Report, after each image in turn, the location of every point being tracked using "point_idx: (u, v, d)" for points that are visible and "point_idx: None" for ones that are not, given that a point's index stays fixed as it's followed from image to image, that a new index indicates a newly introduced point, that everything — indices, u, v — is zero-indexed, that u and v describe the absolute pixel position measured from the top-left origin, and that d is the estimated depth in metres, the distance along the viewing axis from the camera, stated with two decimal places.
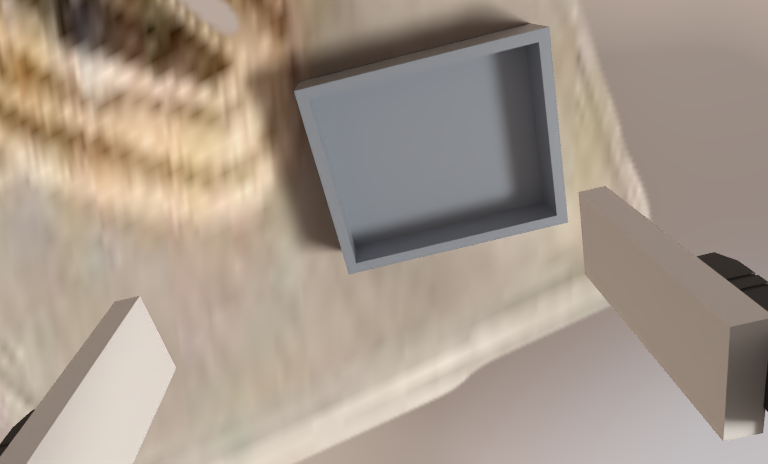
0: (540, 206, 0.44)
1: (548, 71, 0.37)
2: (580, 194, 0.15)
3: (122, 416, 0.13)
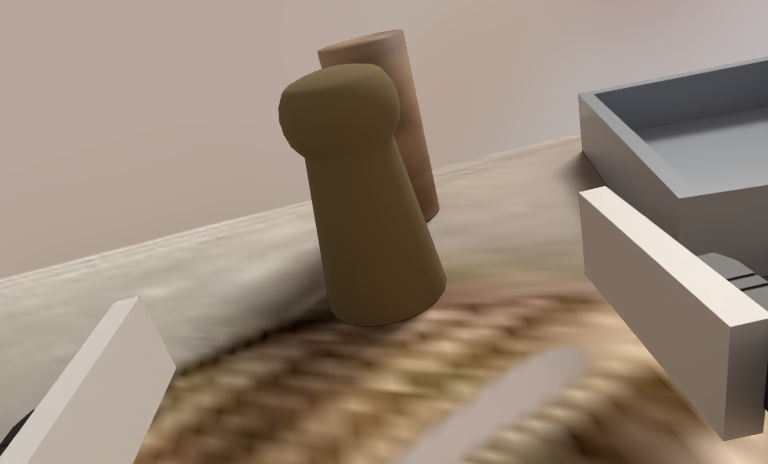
0: None
1: (625, 86, 0.35)
2: (580, 194, 0.15)
3: (122, 416, 0.13)
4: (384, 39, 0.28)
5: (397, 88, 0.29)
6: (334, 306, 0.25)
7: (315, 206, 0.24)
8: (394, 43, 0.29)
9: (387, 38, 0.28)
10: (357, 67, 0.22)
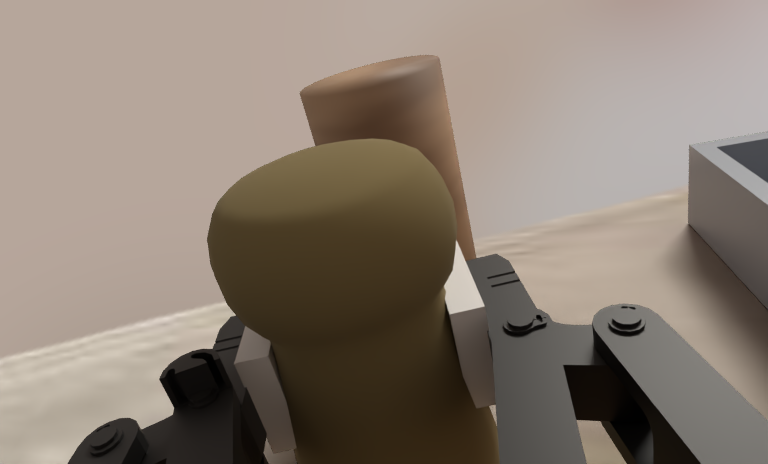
0: None
1: (763, 135, 0.23)
2: None
3: None
4: (411, 76, 0.17)
5: (431, 154, 0.18)
6: None
7: None
8: (427, 82, 0.17)
9: (416, 74, 0.17)
10: (372, 158, 0.10)
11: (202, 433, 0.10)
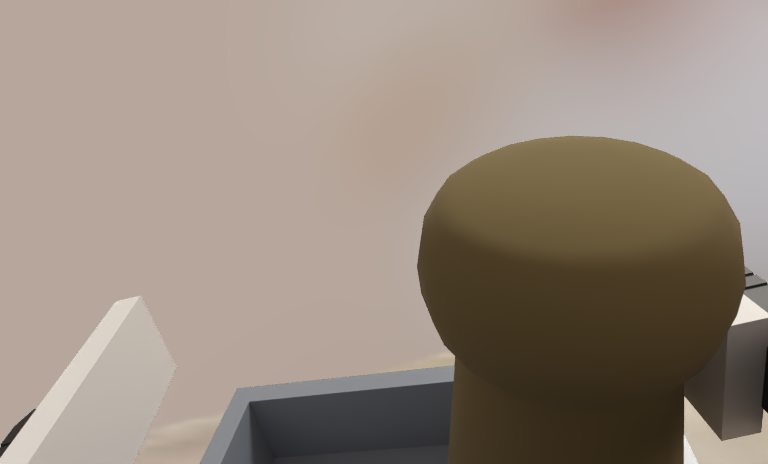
0: None
1: (304, 387, 0.20)
2: None
3: (123, 415, 0.13)
4: None
5: None
6: None
7: (476, 457, 0.10)
8: None
9: None
10: (664, 176, 0.08)
11: None
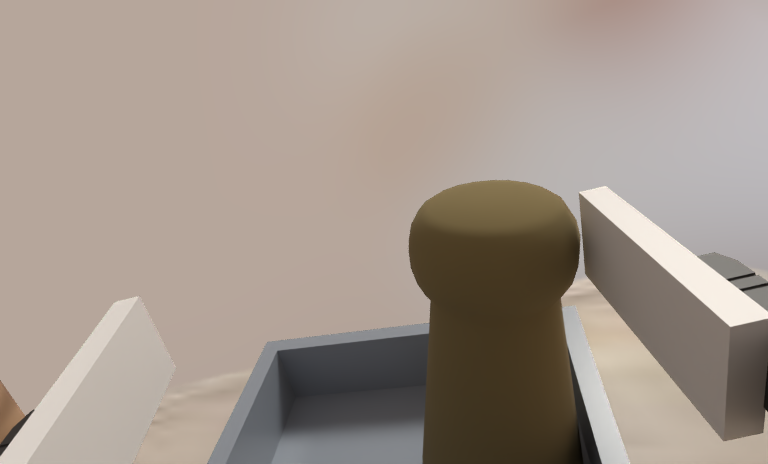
0: None
1: (320, 340, 0.26)
2: (580, 194, 0.15)
3: (122, 416, 0.13)
4: None
5: None
6: None
7: (445, 373, 0.17)
8: None
9: None
10: (536, 196, 0.16)
11: None
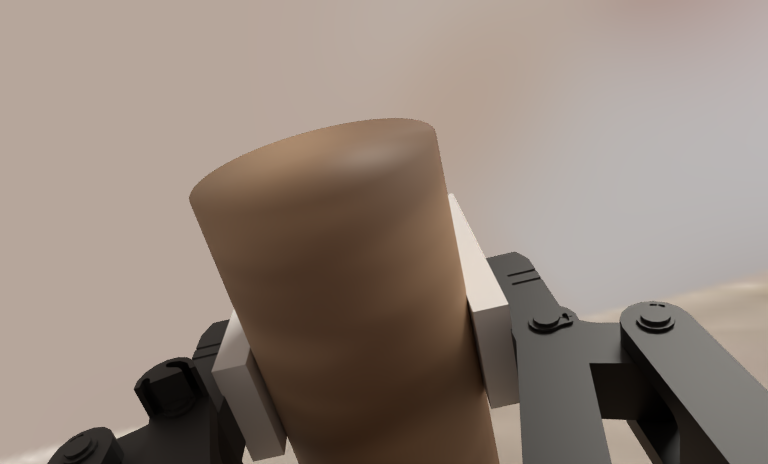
0: None
1: None
2: None
3: None
4: (385, 178, 0.09)
5: (423, 307, 0.10)
6: None
7: None
8: (415, 184, 0.09)
9: (394, 173, 0.09)
10: None
11: (179, 442, 0.10)
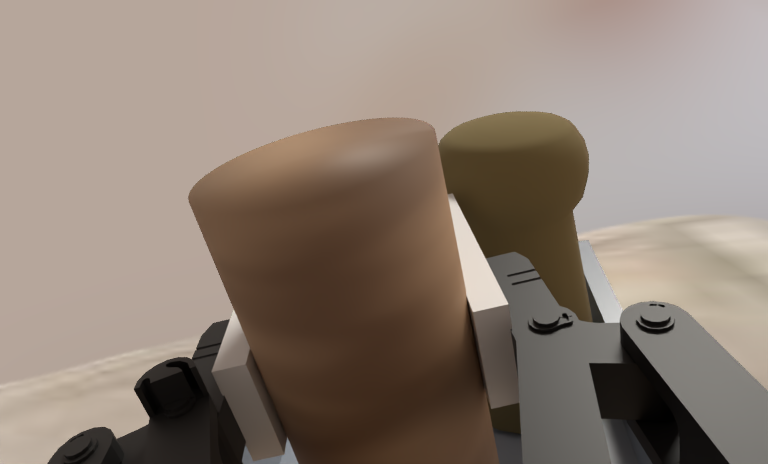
0: None
1: None
2: None
3: None
4: (384, 177, 0.09)
5: (422, 307, 0.10)
6: None
7: None
8: (414, 184, 0.09)
9: (394, 173, 0.09)
10: (546, 118, 0.17)
11: (178, 442, 0.10)
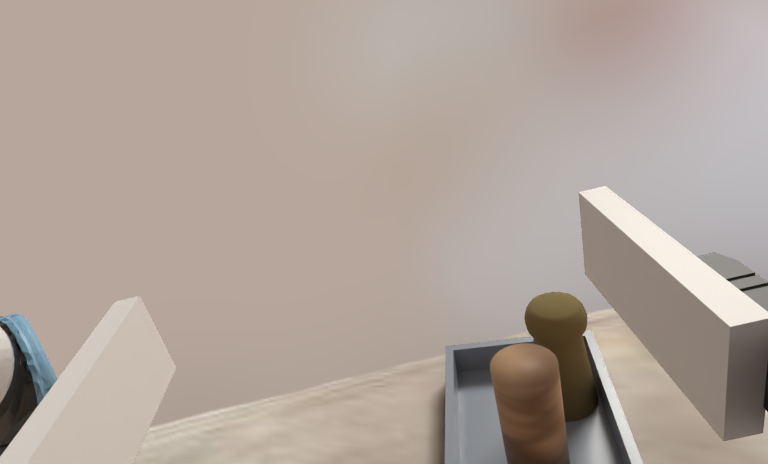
0: None
1: (473, 345, 0.56)
2: (580, 194, 0.15)
3: (122, 416, 0.13)
4: (551, 378, 0.38)
5: (556, 405, 0.39)
6: None
7: None
8: (556, 378, 0.38)
9: (552, 377, 0.38)
10: (570, 302, 0.46)
11: None
